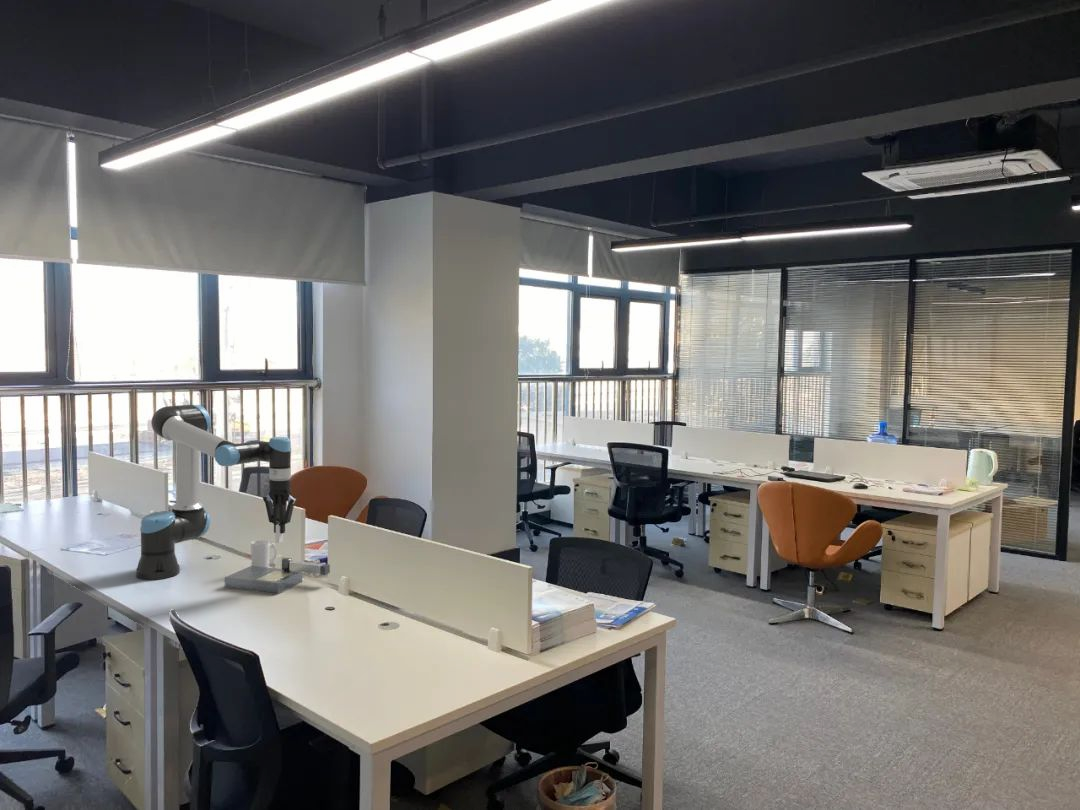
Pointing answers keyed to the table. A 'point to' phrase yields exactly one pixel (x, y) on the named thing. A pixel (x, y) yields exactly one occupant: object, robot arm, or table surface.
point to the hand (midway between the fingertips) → (279, 541)
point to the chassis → (263, 579)
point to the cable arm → (305, 566)
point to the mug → (262, 553)
